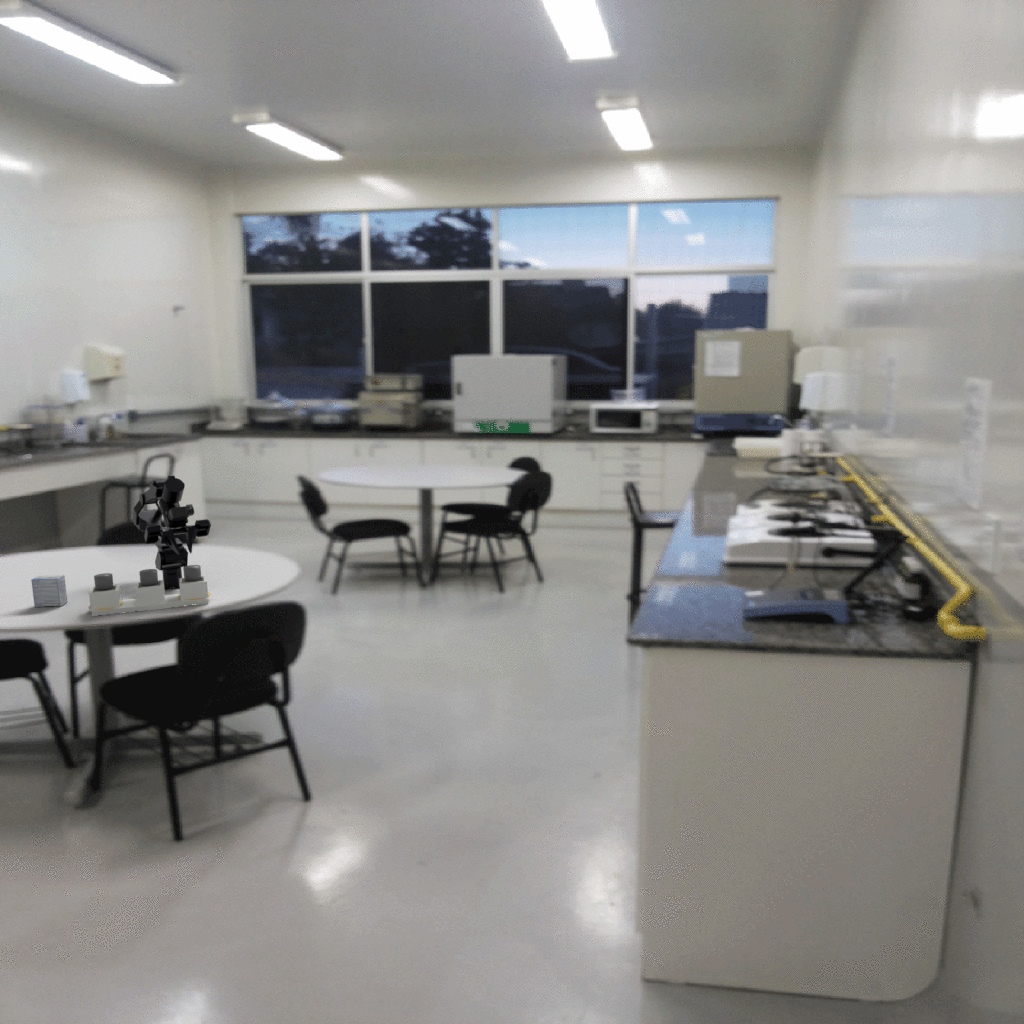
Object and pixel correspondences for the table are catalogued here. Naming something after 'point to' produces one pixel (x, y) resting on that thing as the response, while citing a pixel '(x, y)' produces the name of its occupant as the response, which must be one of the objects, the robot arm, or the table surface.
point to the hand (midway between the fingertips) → (185, 553)
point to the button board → (148, 597)
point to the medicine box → (49, 590)
